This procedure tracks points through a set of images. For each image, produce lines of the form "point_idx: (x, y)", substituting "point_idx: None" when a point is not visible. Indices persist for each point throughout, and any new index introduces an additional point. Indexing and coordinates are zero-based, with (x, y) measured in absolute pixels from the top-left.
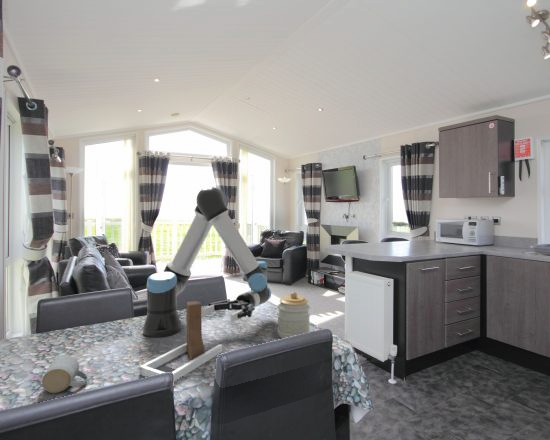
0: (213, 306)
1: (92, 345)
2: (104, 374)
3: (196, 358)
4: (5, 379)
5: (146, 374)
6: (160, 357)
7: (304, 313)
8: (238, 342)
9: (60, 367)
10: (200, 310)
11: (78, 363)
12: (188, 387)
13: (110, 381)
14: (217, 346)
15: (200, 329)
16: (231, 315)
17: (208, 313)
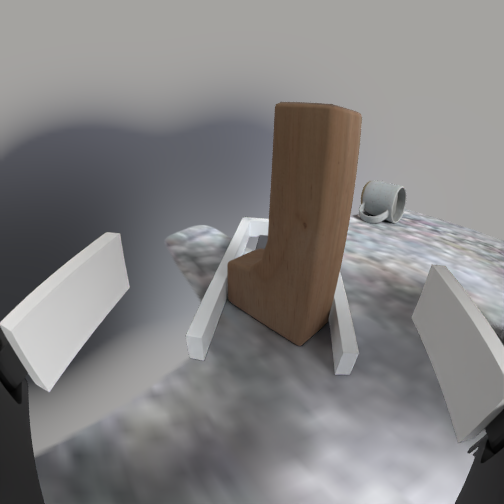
0: (497, 389)
1: (501, 275)
2: (374, 233)
3: (230, 256)
4: (439, 219)
5: None
6: None
7: None
8: (140, 461)
9: (372, 181)
10: (275, 135)
11: (392, 202)
12: (202, 234)
13: None
14: (200, 319)
15: (269, 227)
16: (113, 236)
17: (435, 359)
